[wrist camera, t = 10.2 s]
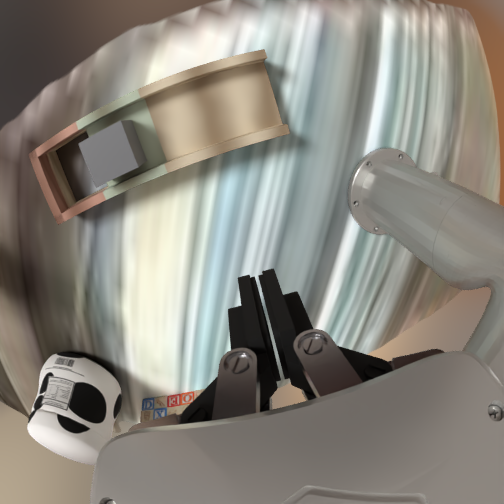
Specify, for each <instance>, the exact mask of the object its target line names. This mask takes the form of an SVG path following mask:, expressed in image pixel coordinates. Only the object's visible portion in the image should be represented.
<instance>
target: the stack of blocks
mask: <svg viewBox="0 0 504 504" xmlns="http://www.w3.org/2000/svg"><path fill="white" fill-rule="evenodd" d="M204 390H205V389H202V390H196V391H193V392H188V393H182V394H177V395H171V396H164V397H157V398H149V399H143V402H142V411H141V421H140V422H141V423H142V422H146V421H150V420H153V419H157V418H160V417H164V416H167V415H171V414H174V413H176V414H177V415H179V414H182V412H183V411H184V410H185V408H186V407H187V406H188V405H189V404H190V403H192V402H193V401H194V400H195V399H196V398H197V397H198V396H199V395H200V394H201V393H202V392H203V391H204Z"/></svg>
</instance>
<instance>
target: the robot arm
mask: <svg viewBox="0 0 504 504" xmlns="http://www.w3.org/2000/svg"><path fill="white" fill-rule="evenodd" d="M348 204H349V208H350V211H351V214H352V216H353V218H354V220H355V221H356V222H357V223H358V224H359V225H360V226H361V227H362V228H363V229H365V230H366V231H368V232H370V233H373V234H389V235H391V236H392V237H393V238H394V239H396V240H397V241H398V242H399V243H401V244H402V245H403V246H404V247H406V248H407V249H408V250H409V251H411V252H412V253H413V254H414V255H415V256H417V257H418V258H419V259H420V260H421V261H422V262H424V263H425V264H426V265H427V266H428V267H429V268H431V269H432V270H433V271H434V272H435V273H436V274H437V275H439V276H440V277H441V278H442V279H443V280H444V281H445V282H447V283H448V284H449V285H451V286H453V287H455V288H458V289H461V290H473V289H478V288H482V287H485V286H486V287H489V288H490V289H491V296H490V299H489V302H488V304H487V306H486V309H485V312H484V314H483V316H482V318H481V319H480V321H479V323H478V325H477V327H476V329H475V331H474V332H473V334H472V336H471V337H470V339H469V341H468V342H467V344H466V346H465V347H464V349H463V350H462V351H453V352H444V351H442V350H439V349H431V350H427V351H423V352H419V353H414V354H410V355H405V356H400V357H396V358H393V359H392V361H388V362H387V361H385V360H383V359H380V358H376V357H373V356H370V355H366V354H363V353H359V352H356V351H353V350H349V349H346V348H343V347H339V346H337V345H336V344H335V342H334V341H333V340H332V338H331V337H330V335H328V334H327V333H326V332H324V331H322V330H318V329H313V327H312V325H311V322H310V320H309V317H308V315H307V313H306V310H305V308H304V306H303V303H302V301H301V299H300V296H299V294H298V292H297V291H296V292H293V293H289V294H285V295H283V294H282V291H281V288H280V285H279V282H278V279H277V277H276V274H275V271H274V269H270V270H266V271H262V273H263V275H259V280H260V284H261V288H262V292H263V296H264V300H265V304H266V308H267V312H268V316H269V320H270V323H271V327H272V331H273V335H274V339H275V343H276V347H277V351H278V355H279V358H280V362H281V366H282V370H283V374H284V378H285V379H288V378H290V381H291V384H292V385H293V386H295V387H297V388H300V389H301V390H302V393H303V395H304V397H305V399H306V401H305V402H301V403H298V404H294V405H290V406H286V407H282V408H277V409H273V410H272V399H271V396H272V395H273V394H274V392H275V391H276V390H277V388H278V387H277V383H276V381H280V380H281V378H280V374H279V370H278V366H277V362H276V358H275V354H274V350H273V345H272V341H271V337H270V333H269V329H268V325H267V321H266V317H265V313H264V310H263V306H262V302H261V298H260V295H259V291H258V287H257V283H256V280H255V277H251V278H250V275H246V276H242V277H238V283H239V290H240V298H241V305H242V306H238V307H234V308H230V309H228V317H229V330H230V342H231V351H228V352H227V353H226V354H225V355H224V356H223V357H222V358H221V361H220V364H219V370H218V377H217V378H216V379H215V380H214V381H213V382H212V383H211V384H210V385H209V386H208V387H207V388H206V389H205V390H204V391H203V392H202V393H201V394H200V395H199V396H198V397H197V398H196V399H195V400H194V401H193V402H192V403H190V404H189V405H188V406H187V407H186V408H185V410H184V411H183V412H182V414H179V415H177V414H176V413H174V414H171V415H167V416H164V417H160V418H157V419H153V420H150V421H146V422H142V423H138V424H136V425H134V426H132V427H131V428H130V429H129V431H128V432H126V433H124V434H121V435H119V436H116V437H114V438H112V439H111V440H109V441H108V442H107V443H105V444H104V445H103V447H102V448H101V450H100V452H99V454H98V457H97V461H96V464H95V468H94V473H93V480H92V487H91V496H90V504H504V207H503V206H501V205H499V204H497V203H495V202H493V201H491V200H489V199H487V198H485V197H483V196H481V195H479V194H477V193H475V192H473V191H471V190H469V189H467V188H465V187H462V186H460V185H458V184H456V183H453V182H451V181H449V180H446V179H444V178H442V177H439V176H438V174H437V173H436V172H432V173H429V172H427V171H424V170H421V169H419V168H417V167H416V165H415V163H414V161H413V160H412V159H411V158H410V157H409V156H408V155H407V154H406V153H404V152H402V151H400V150H398V149H393V148H380V149H376V150H374V151H372V152H370V153H369V154H368V155H366V156H365V157H364V158H363V159H362V160H361V161H360V162H359V163H358V165H357V167H356V168H355V170H354V172H353V174H352V177H351V179H350V183H349V187H348Z"/></svg>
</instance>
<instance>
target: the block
mask: <svg viewBox="0 0 504 504" xmlns="http://www.w3.org/2000/svg"><path fill="white" fill-rule="evenodd" d="M79 147H80V149H81V152H82V155H83V157H84V160H85V162H86V165H87V167H88V170H89V172H90V174H91V177H92V179H93V181H94V184H95V186H96V188H97V187H99V186H101V185H103V184H105V183H107V182H109V181H111V180H113V179H115V178H117V177H119V176H121V175H123V174H125V173H127V172H129V171H131V170H134V169H136V168H138V167H140V166H141V165H142V164H144V163H145V162H146V161H147V159H146V156H145V154H144V151H143V149H142V146H141V143H140V141H139V138H138V135H137V133H136V130H135V127H134V125H133V122H132V120H121V121H119V122H117V123H115V124H113V125H111V126H109V127H107V128H105V129H103V130H102V131H100V132H98V133H96V134H94V135H93V136H91V137H89V138H87V139H86V140H84V141H82V142H81V143H79Z"/></svg>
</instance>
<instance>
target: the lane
mask: <svg viewBox="0 0 504 504" xmlns="http://www.w3.org/2000/svg"><path fill="white" fill-rule="evenodd" d="M266 58H267V56H266V53H265V50H264V49H263V50H258V51H254V52H249V53H244V54H240V55H236V56H232V57H228V58H224V59H221V60H217V61H214V62H210V63H207V64H204V65H200V66H197V67H194V68H191V69H188V70H185V71H182V72H180V73H177V74H174V75H171V76H169V77H166V78H164V79H161V80H159V81H156V82H154V83H151V84H149V85H147V86H144V87H142V88H140V89H137V90H135V91H133V92H131V93H129V94H127V95H125V96H123V97H120V98H118V99H116V100H114V101H112V102H111V103H109V104H107V105H105V106H103V107H101V108H99V109H97V110H96V111H94V112H92V113H90V114H88V115H87V116H85V117H83V118H82V119H80V120H78V121H77V122H75V123H73V124H72V125H70V126H69V127H67V128H65V129H64V130H62V131H61V132H59V133H58V134H56V135H55V136H53V137H52V138H50V139H49V140H48V141H46V142H45V143H43V144H42V145H41V146H39V147H38V148H36V149H35V150H34V151H32V152H31V153H30V154H29V157H30V160H31V163H32V165H33V168H34V171H35V173H36V176H37V178H38V181H39V183H40V186H41V188H42V191H43V193H44V195H45V198H46V200H47V202H48V204H49V206H50V209H51V211H52V213H53V215H54V217H55V219H56V221H57V223H58V225H59V224H61V223H63V222H64V221H66V220H68V219H70V218H72V217H74V216H76V215H77V214H79V213H81V212H83V211H85V210H87V209H89V208H91V207H93V206H95V205H97V204H99V203H101V202H103V201H105V200H107V199H110V198H112V197H114V196H116V195H118V194H120V193H122V192H125V191H127V190H129V189H131V188H134V187H136V186H138V185H140V184H143V183H145V182H148V181H150V180H152V179H155V178H157V177H160V176H162V175H165V174H167V173H170V172H172V171H175V170H177V169H180V168H183V167H185V166H188V165H191V164H193V163H196V162H199V161H202V160H205V159H207V158H210V157H213V156H216V155H219V154H222V153H225V152H228V151H231V150H234V149H238V148H241V147H244V146H247V145H251V144H254V143H258V142H261V141H264V140H268V139H272V138H275V137H279V136H283V135H287V134H290V132H289V128H288V125H287V124H282V121H281V117H280V114H279V110H278V107H277V104H276V100H275V97H274V93H273V90H272V87H271V84H270V81H269V77H268V74H267V71H266V68H265V65H264V62H263V61H264V60H265V59H266ZM121 120H132V122H133V125H134V127H135V130H136V133H137V135H138V138H139V141H140V143H141V146H142V149H143V151H144V154H145V156H146V159H147V161H146V162H145V163H144V164H142V165H141V166H140V167H138V168H136V169H134V170H131V171H129V172H127V173H125V174H123V175H121V176H119V177H117V178H115V179H113V180H111V181H109V182H107V185H108V186H107V187H105V188H103V189H101V190H99V191H97V192H95V193H93V194H91V195H89V196H87V197H85V198H83V199H81V200H79V201H78V202H76V199H75V197H74V195H73V193H72V190H71V188H70V186H69V183H68V181H67V178H66V176H65V174H64V171H63V168H62V166H61V163H60V161H59V158H58V155H57V153H56V150H57V149H59V148H60V147H62V146H63V145H65V144H66V143H68V142H70V141H71V140H73V139H74V138H76V137H78V136H79V135H81V134H83V133H85V132H86V131H87V134H88V136H89V137H91V136H93V135H94V134H96V133H98V132H100V131H102V130H103V129H105V128H107V127H109V126H111V125H113V124H115V123H117V122H119V121H121Z"/></svg>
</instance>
